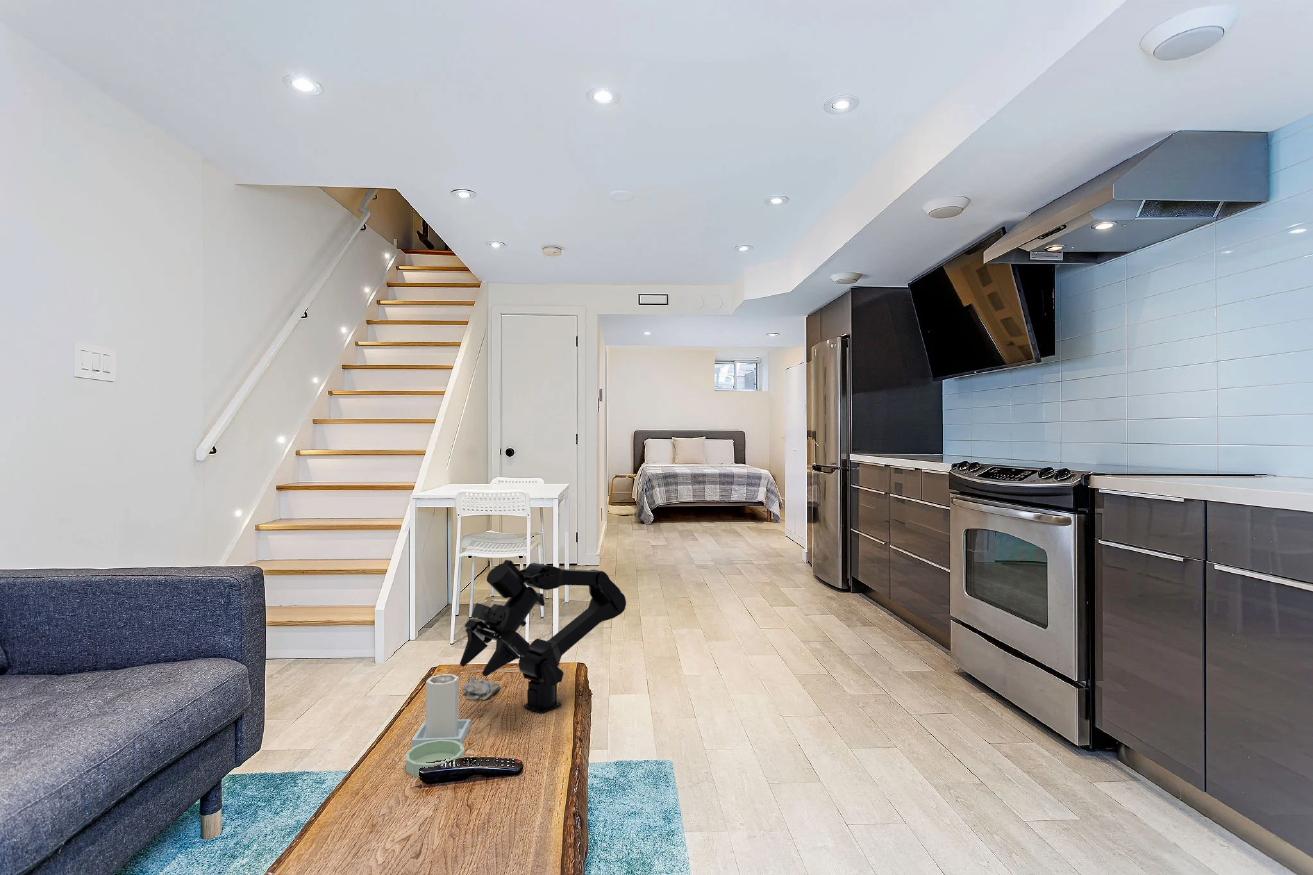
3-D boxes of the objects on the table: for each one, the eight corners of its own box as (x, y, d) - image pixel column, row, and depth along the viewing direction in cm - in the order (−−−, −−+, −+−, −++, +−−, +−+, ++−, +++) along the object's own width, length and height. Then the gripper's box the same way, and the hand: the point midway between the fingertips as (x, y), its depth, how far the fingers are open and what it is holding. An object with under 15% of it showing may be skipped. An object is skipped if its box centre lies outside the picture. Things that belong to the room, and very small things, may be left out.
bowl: (442, 750, 130) (442, 735, 130) (474, 765, 124) (474, 749, 124) (394, 769, 122) (394, 753, 122) (426, 787, 116) (426, 770, 116)
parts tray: (424, 732, 139) (425, 720, 139) (470, 730, 139) (470, 719, 139) (411, 752, 129) (411, 739, 129) (460, 751, 130) (460, 738, 130)
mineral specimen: (492, 705, 155) (492, 687, 155) (457, 706, 154) (457, 688, 154) (503, 684, 169) (503, 667, 169) (470, 684, 169) (470, 668, 169)
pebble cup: (448, 728, 139) (448, 670, 139) (462, 737, 134) (463, 677, 135) (421, 737, 134) (421, 677, 135) (435, 746, 130) (436, 684, 130)
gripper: (472, 583, 150) (427, 640, 142) (518, 595, 138) (471, 658, 129) (501, 611, 156) (459, 668, 148) (548, 625, 143) (504, 688, 135)
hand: (472, 670), depth 140 cm, fingers open, 9 cm apart
